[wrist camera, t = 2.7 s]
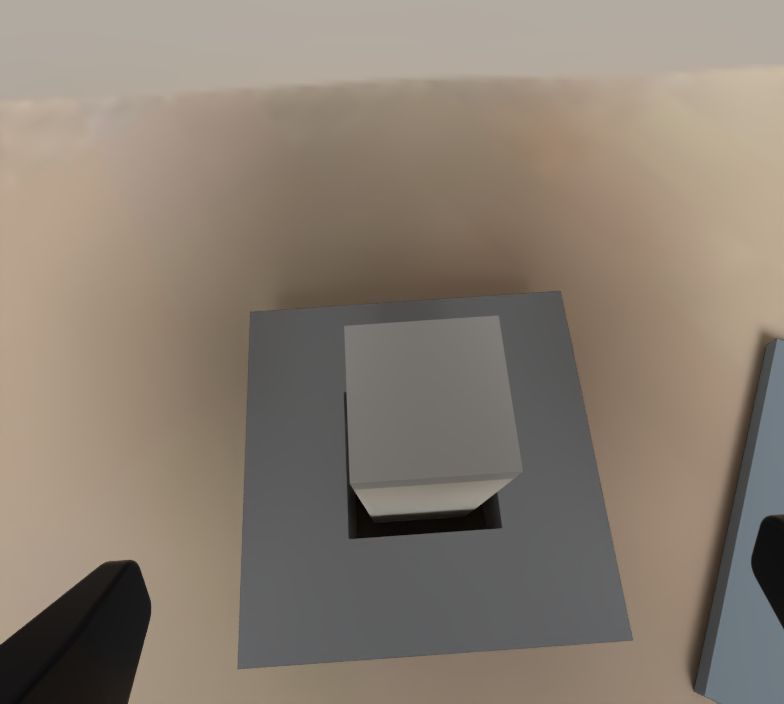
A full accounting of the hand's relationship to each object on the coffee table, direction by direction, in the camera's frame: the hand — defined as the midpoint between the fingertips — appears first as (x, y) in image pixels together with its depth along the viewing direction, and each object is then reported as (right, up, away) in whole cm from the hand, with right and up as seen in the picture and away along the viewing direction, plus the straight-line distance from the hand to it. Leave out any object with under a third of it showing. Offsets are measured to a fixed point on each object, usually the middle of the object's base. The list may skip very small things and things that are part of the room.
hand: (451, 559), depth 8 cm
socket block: (0, -1, +10) cm, 10 cm away
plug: (0, -1, +10) cm, 10 cm away
